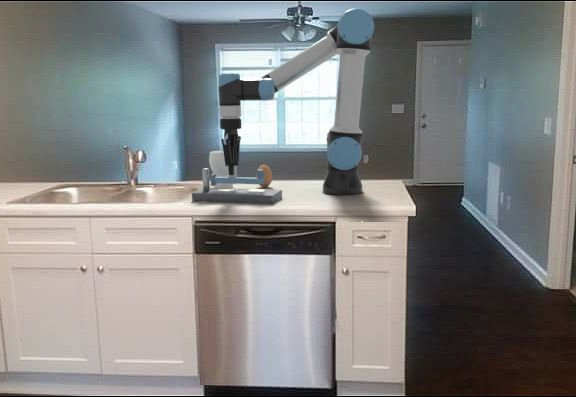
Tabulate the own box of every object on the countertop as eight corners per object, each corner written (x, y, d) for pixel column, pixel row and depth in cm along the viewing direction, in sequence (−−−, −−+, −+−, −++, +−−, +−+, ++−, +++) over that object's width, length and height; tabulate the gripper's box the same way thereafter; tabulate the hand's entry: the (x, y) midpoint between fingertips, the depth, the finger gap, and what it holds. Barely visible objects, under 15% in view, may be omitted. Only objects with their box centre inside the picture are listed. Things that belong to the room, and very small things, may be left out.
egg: (275, 186, 230) (275, 164, 228) (266, 189, 224) (266, 166, 223) (262, 185, 233) (261, 163, 232) (253, 187, 228) (252, 165, 226)
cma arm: (264, 186, 200) (264, 169, 199) (262, 187, 197) (261, 170, 196) (214, 184, 206) (213, 168, 204) (210, 185, 203) (210, 169, 202)
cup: (232, 191, 220) (231, 153, 217) (206, 191, 222) (204, 153, 219) (240, 187, 230) (238, 150, 227) (215, 186, 232) (213, 150, 230)
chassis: (282, 198, 204) (281, 167, 202) (272, 204, 193) (271, 172, 191) (205, 195, 212) (204, 166, 210) (192, 201, 201) (190, 170, 199)
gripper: (227, 116, 206) (230, 180, 211) (213, 118, 194) (216, 186, 199) (246, 116, 204) (248, 181, 209) (233, 118, 192) (235, 187, 196)
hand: (232, 183), depth 204 cm, fingers closed
